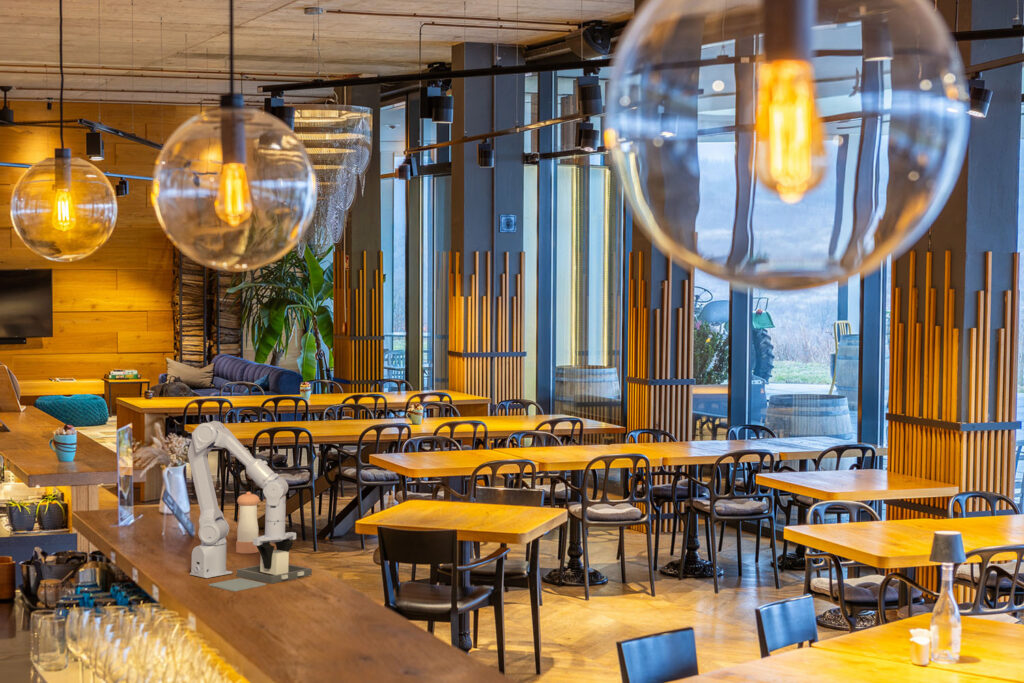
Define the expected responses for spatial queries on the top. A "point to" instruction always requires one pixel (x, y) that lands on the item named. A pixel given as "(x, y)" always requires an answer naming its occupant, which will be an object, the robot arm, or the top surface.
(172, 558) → the top surface
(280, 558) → the block
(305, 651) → the top surface
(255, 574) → the frame
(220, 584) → the slate mat
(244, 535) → the salt shaker
